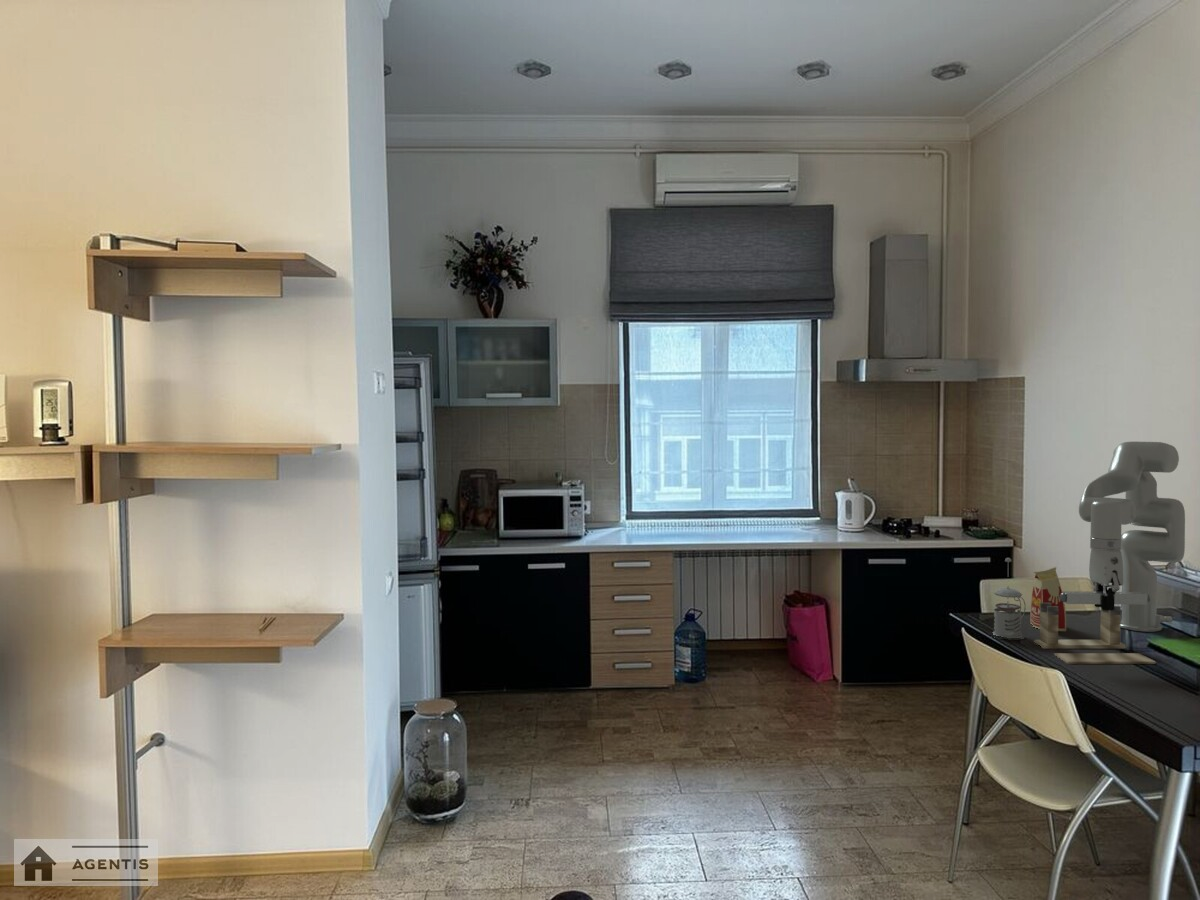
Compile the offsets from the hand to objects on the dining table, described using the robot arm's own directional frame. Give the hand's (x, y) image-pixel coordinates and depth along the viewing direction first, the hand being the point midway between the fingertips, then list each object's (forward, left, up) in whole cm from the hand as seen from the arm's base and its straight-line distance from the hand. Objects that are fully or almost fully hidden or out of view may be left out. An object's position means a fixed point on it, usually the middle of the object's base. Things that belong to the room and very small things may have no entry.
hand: (1104, 607), depth 243 cm
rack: (0, -14, -15) cm, 21 cm away
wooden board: (0, 0, -15) cm, 15 cm away
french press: (+16, -25, -15) cm, 33 cm away
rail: (0, 0, +1) cm, 1 cm away
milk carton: (0, -35, -15) cm, 38 cm away
